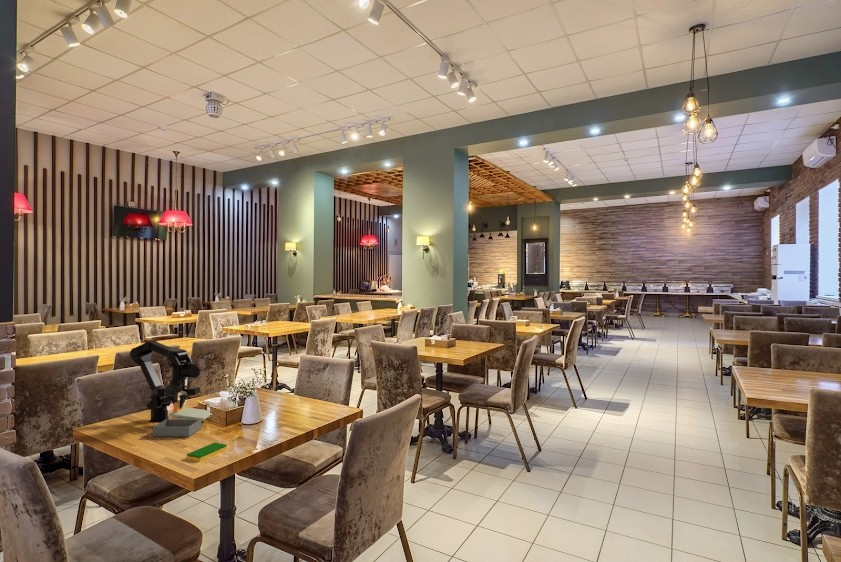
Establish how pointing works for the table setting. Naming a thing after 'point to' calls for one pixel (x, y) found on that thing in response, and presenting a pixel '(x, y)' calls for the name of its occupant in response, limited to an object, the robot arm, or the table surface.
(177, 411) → the lid
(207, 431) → the table surface
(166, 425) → the tub
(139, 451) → the table surface
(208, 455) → the dish sponge
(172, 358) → the robot arm
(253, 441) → the table surface
